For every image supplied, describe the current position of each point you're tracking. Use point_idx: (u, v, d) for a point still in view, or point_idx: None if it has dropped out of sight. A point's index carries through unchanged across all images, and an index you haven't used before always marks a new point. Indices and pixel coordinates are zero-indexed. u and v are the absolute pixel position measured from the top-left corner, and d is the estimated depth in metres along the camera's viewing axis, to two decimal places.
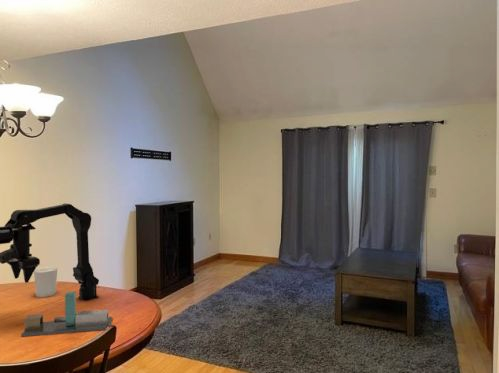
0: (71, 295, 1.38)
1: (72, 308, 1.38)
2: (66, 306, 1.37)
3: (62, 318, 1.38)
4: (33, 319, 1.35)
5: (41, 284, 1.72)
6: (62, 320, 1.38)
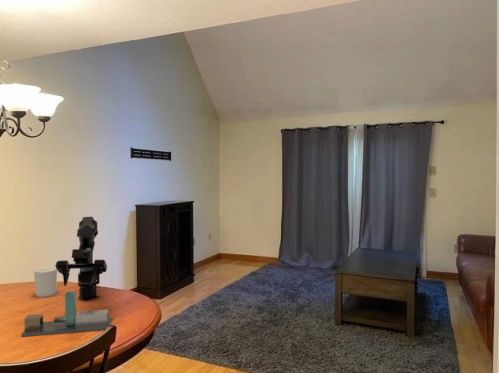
0: (71, 295, 1.38)
1: (72, 308, 1.38)
2: (66, 306, 1.37)
3: (62, 318, 1.38)
4: (33, 319, 1.35)
5: (41, 284, 1.72)
6: (62, 320, 1.38)
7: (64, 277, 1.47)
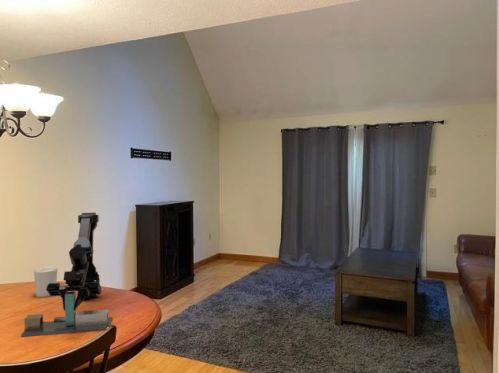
0: (71, 295, 1.38)
1: (72, 308, 1.38)
2: (66, 306, 1.37)
3: (62, 318, 1.38)
4: (33, 319, 1.35)
5: (41, 284, 1.72)
6: (62, 320, 1.38)
7: (63, 301, 1.39)
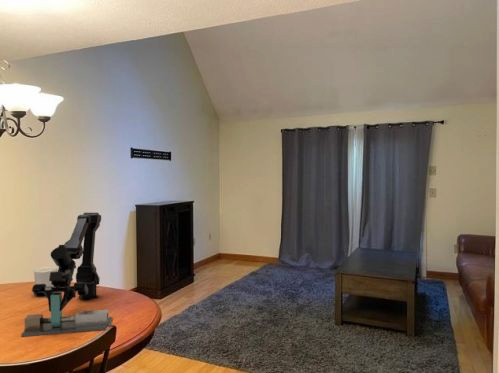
0: (57, 296, 1.37)
1: (58, 309, 1.37)
2: (52, 307, 1.36)
3: (48, 319, 1.37)
4: (33, 319, 1.35)
5: None
6: (48, 321, 1.37)
7: (49, 302, 1.38)
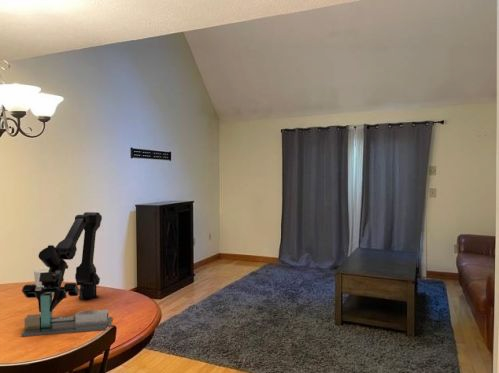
0: (47, 297, 1.36)
1: (48, 310, 1.36)
2: (42, 308, 1.36)
3: None
4: (33, 319, 1.35)
5: (41, 284, 1.72)
6: None
7: (39, 302, 1.37)
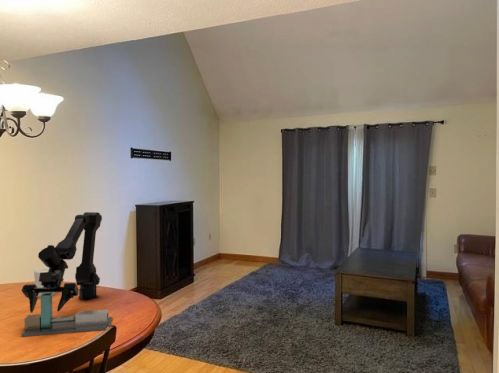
0: (47, 297, 1.36)
1: (48, 310, 1.36)
2: (42, 308, 1.36)
3: None
4: (33, 319, 1.35)
5: None
6: None
7: (31, 303, 1.37)
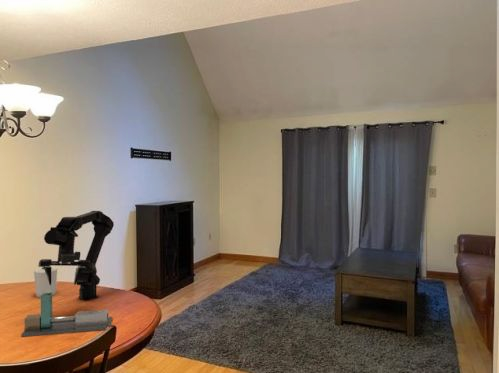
0: (47, 297, 1.36)
1: (48, 310, 1.36)
2: (42, 308, 1.36)
3: None
4: (33, 319, 1.35)
5: (41, 284, 1.72)
6: None
7: (49, 277, 1.50)
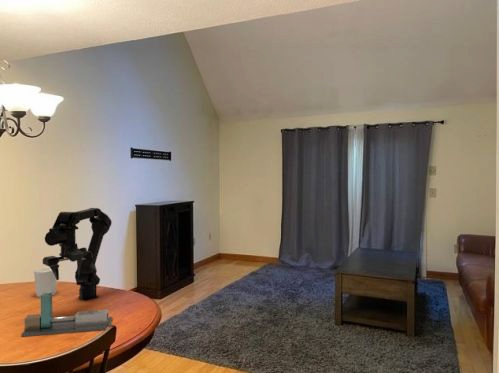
0: (47, 297, 1.36)
1: (48, 310, 1.36)
2: (42, 308, 1.36)
3: None
4: (33, 319, 1.35)
5: (41, 284, 1.72)
6: None
7: (57, 273, 1.54)
